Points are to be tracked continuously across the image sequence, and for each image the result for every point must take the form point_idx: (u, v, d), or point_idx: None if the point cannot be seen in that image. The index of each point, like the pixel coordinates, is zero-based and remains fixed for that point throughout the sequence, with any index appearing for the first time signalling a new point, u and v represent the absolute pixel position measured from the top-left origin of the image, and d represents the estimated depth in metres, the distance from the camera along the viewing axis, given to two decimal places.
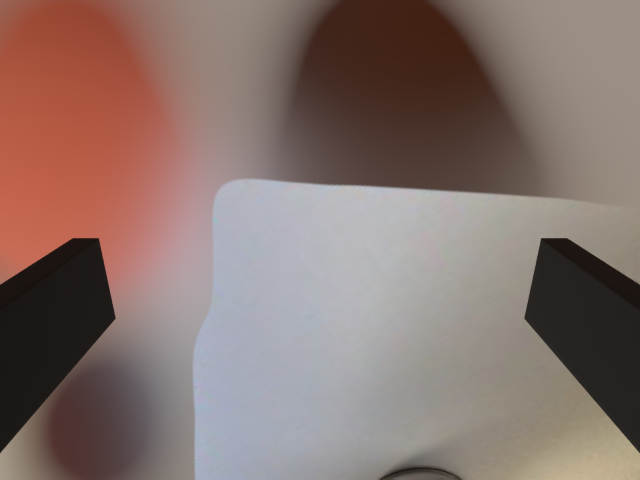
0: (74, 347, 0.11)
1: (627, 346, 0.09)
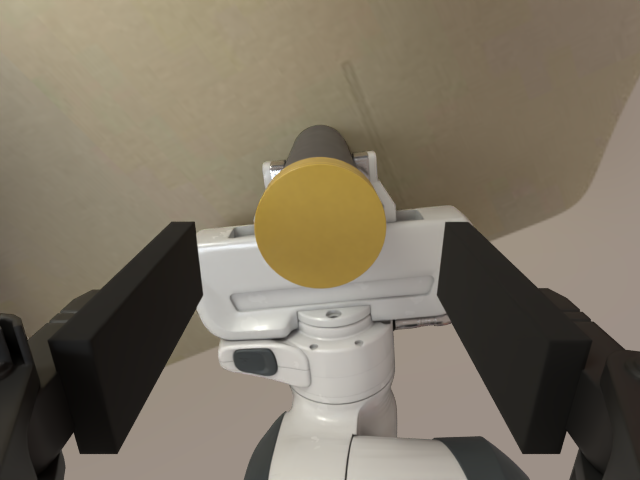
0: (182, 316, 0.12)
1: (487, 309, 0.10)
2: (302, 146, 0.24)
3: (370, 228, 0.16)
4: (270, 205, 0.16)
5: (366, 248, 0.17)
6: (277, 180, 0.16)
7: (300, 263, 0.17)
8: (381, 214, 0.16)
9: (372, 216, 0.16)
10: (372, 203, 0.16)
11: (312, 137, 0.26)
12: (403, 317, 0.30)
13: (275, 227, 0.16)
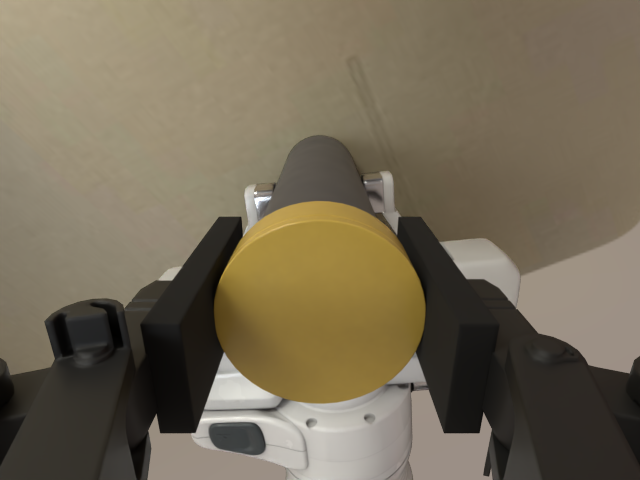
0: None
1: None
2: (295, 169, 0.18)
3: (400, 318, 0.10)
4: (237, 283, 0.10)
5: (393, 347, 0.11)
6: (249, 245, 0.10)
7: (288, 368, 0.11)
8: (418, 297, 0.10)
9: (404, 300, 0.10)
10: (405, 281, 0.10)
11: (309, 155, 0.20)
12: (425, 380, 0.23)
13: (247, 316, 0.10)
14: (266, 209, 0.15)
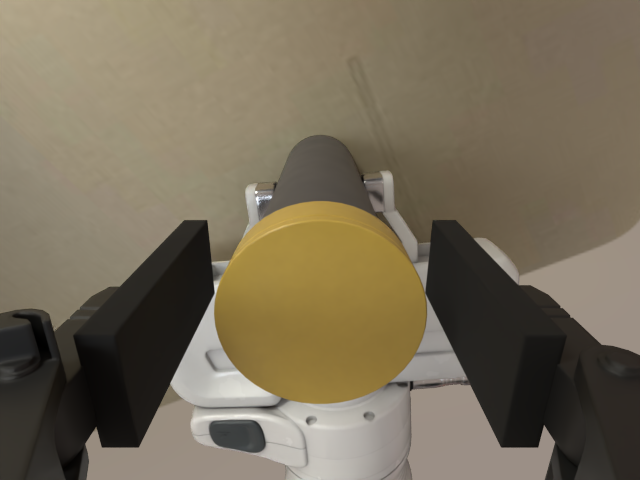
0: (196, 314, 0.12)
1: (470, 305, 0.10)
2: (296, 168, 0.18)
3: (337, 248, 0.10)
4: (264, 375, 0.11)
5: (372, 260, 0.10)
6: (229, 357, 0.11)
7: (368, 358, 0.11)
8: (317, 226, 0.09)
9: (317, 241, 0.09)
10: (294, 237, 0.09)
11: (310, 154, 0.20)
12: (424, 379, 0.24)
13: (300, 377, 0.11)
14: (267, 208, 0.15)
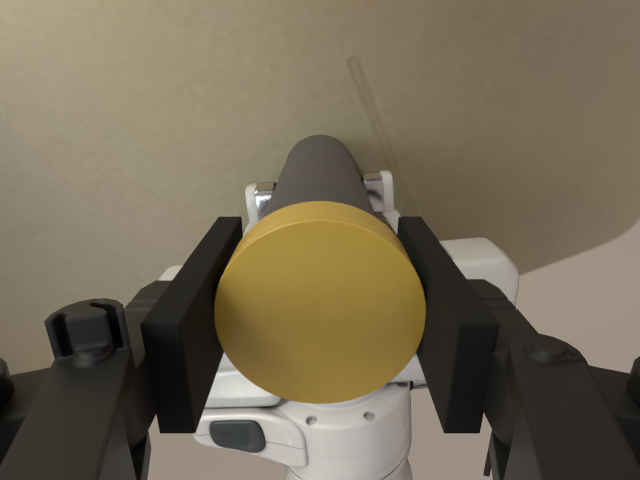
0: None
1: None
2: (296, 168, 0.18)
3: (337, 248, 0.10)
4: (264, 375, 0.11)
5: (371, 260, 0.10)
6: (229, 357, 0.11)
7: (367, 358, 0.11)
8: (316, 225, 0.09)
9: (316, 241, 0.09)
10: (293, 237, 0.09)
11: (310, 154, 0.20)
12: (424, 378, 0.24)
13: (299, 376, 0.11)
14: (267, 208, 0.15)
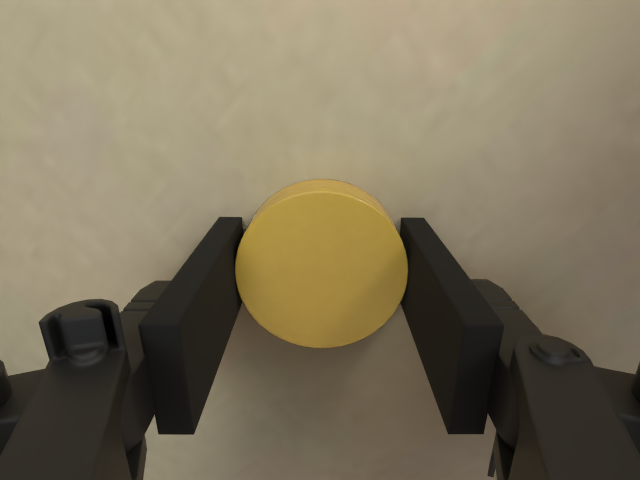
0: (233, 308, 0.13)
1: (426, 299, 0.10)
2: None
3: (335, 214, 0.12)
4: (275, 322, 0.13)
5: (363, 225, 0.12)
6: (247, 307, 0.13)
7: (360, 308, 0.13)
8: (319, 196, 0.12)
9: (318, 208, 0.12)
10: (300, 205, 0.12)
11: None
12: None
13: (304, 324, 0.13)
14: None
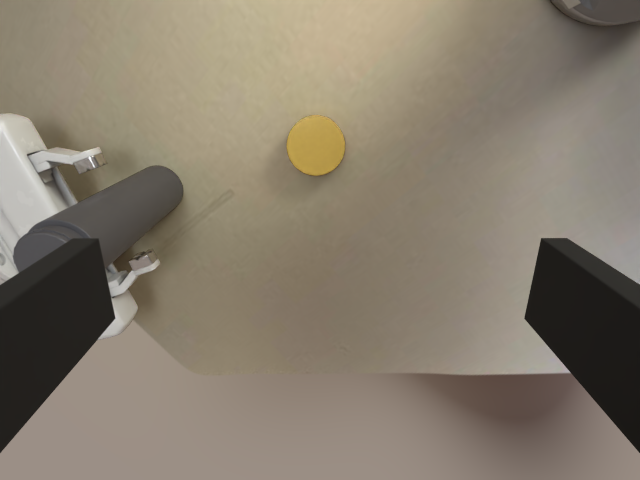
0: (74, 347, 0.11)
1: (627, 346, 0.09)
2: (133, 201, 0.31)
3: (320, 124, 0.37)
4: (299, 165, 0.38)
5: (329, 128, 0.37)
6: (290, 159, 0.38)
7: (329, 159, 0.38)
8: (314, 118, 0.36)
9: (314, 122, 0.37)
10: (308, 121, 0.37)
11: (151, 198, 0.33)
12: None
13: (310, 165, 0.38)
14: (98, 202, 0.28)
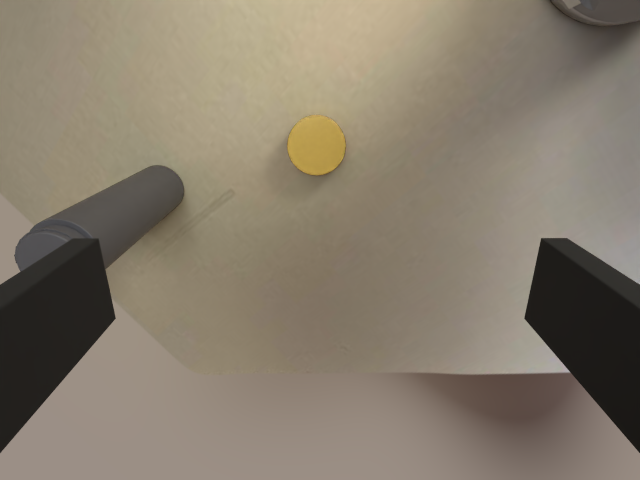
0: (74, 347, 0.11)
1: (627, 346, 0.09)
2: (134, 201, 0.31)
3: (320, 124, 0.37)
4: (300, 164, 0.38)
5: (329, 127, 0.37)
6: (290, 158, 0.38)
7: (329, 159, 0.38)
8: (315, 117, 0.37)
9: (315, 122, 0.37)
10: (309, 121, 0.37)
11: (152, 198, 0.34)
12: None
13: (310, 165, 0.38)
14: (99, 202, 0.28)
